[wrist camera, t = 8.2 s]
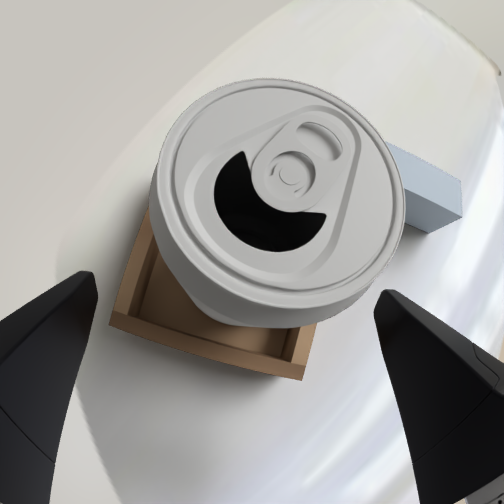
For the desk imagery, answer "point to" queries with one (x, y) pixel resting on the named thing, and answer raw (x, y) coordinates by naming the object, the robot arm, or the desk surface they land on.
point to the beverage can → (275, 203)
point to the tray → (198, 319)
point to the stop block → (427, 192)
